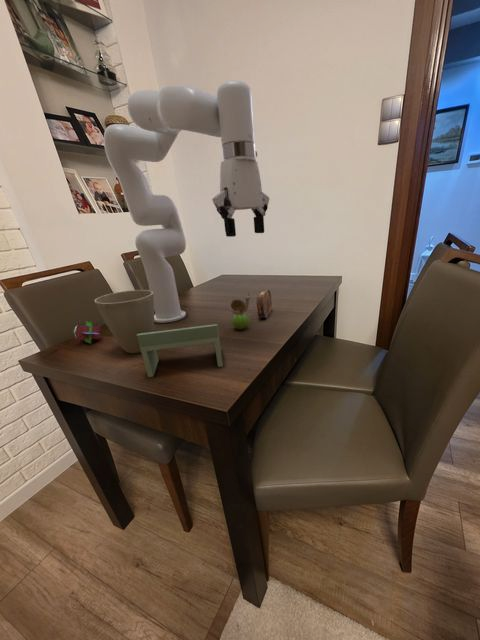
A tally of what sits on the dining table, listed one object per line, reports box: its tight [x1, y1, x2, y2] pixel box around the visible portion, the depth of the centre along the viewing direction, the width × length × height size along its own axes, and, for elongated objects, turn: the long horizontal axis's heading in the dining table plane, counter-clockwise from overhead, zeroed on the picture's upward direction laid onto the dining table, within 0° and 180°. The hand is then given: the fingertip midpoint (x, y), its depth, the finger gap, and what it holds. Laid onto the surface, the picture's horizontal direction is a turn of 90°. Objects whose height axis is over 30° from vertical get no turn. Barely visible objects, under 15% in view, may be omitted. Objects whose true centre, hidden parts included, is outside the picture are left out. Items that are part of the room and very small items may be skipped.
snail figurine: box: [230, 292, 250, 331], centre depth 90 cm, size 5×6×12 cm
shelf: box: [137, 323, 224, 378], centre depth 70 cm, size 9×18×11 cm, turn 101°
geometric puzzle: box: [73, 320, 101, 345], centre depth 90 cm, size 7×7×8 cm
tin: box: [256, 289, 273, 319], centre depth 103 cm, size 15×3×8 cm, turn 168°
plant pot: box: [94, 289, 155, 354], centre depth 81 cm, size 15×15×16 cm
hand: (245, 234), depth 72 cm, fingers open, 9 cm apart
